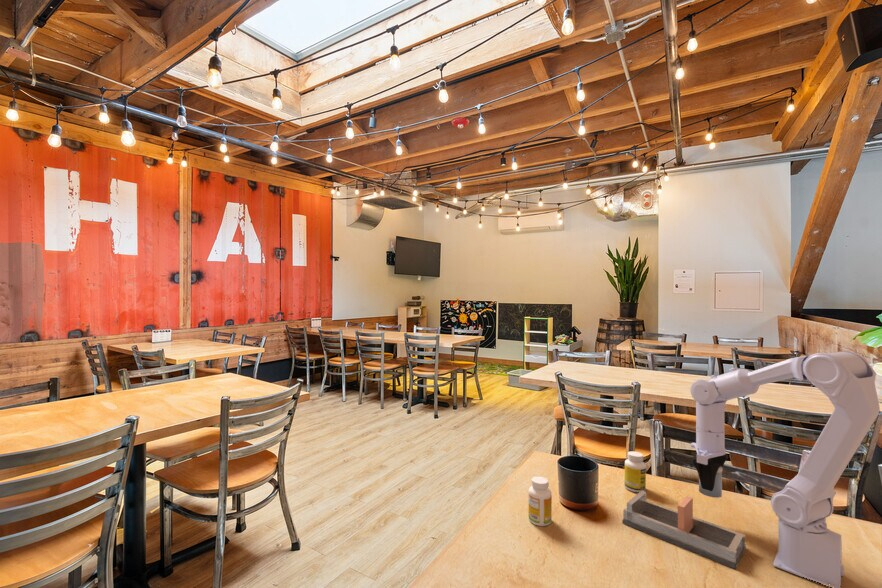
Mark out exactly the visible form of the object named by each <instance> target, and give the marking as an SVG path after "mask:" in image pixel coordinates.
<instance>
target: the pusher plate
mask: <svg viewBox="0 0 882 588" xmlns="http://www.w3.org/2000/svg"><path fill="white" fill-rule="evenodd" d="M693 500H694V498H693V497H691V496H689V495H686V496H685V497H684V498H683V499H682V500H681V502H680V503H679V504H677V511H678V529H681V530H683V531H686V532H688V533H689V532H690V530H691V529H692V528H693V517H694V516H693V515H694V513H693V512H694V506H693V502H694V501H693Z"/></svg>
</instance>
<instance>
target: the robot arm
mask: <svg viewBox="0 0 882 588" xmlns="http://www.w3.org/2000/svg"><path fill="white" fill-rule="evenodd" d="M876 377H877V372H876V370H875V369H874V368H873V367H872V366H871V365H870V363H869V361H867V359H866V358H864V357H863V356H862V355H861V354H858V353H856V352H854V351H849V350H841V351H836V352H817V353H813V354H811V355H802V356H797V357H791V358H787V359H785V360H782V361H779V362H776V363H774V364H770V365H767V366H764V367H761V368H759V369H756V370H753V371H751V370H748V369H746V368H738V367H731V368H729V369H728V372H726V373H722V374H719V375H718V374H712V375H710V378H708V379H702V378H701V379H698V380H696V381H694V382H693V383H692V384H691V385H690V394H691V397H692V398H693V400H694V401H695V417H696V418H695V442H691V443H690V448H693V449H695V451H696V455H693V456H691V462H692V464H693V465H694V467H695V470H696V471H697V474H698V480H699V479H700V483H701V486H702V489H706V490H709V491H713V488H714V484H715V478H716V474H717V471H718V469H719V467H720V466H721V467H722V469H723V468H724V467H725V466H724V465H725V463H726V461H727V460H728V458H729V455H728V454H727V453H726V452H727V450H726V448H725V447H726V446H725V443H726V442H725V441H726V438H725V437H726V436H725V435H726V434H725V432H726V431H725V430H726V429H725V423H726V422H725V418H726V417H725V416H726V415H725V409H726V403H727V402H728V401H730V400H734V399H739V398H742V397H746V396H750V395H755V394H756V393H757V392H758V390H759V389H760V386H762V385H767V384H772V383H775V382H779V381H784V380H788V379H792V378H794V379H795V378H796V379H798V380H800V381H807V380H809V382H810V383H811V384H812V385H813V386H815V387H816V388H817V389H818V390H819V391H820V392H822V393H823V394H824V395H825V396H826V397H827V398H828V400H829V401H830V402H831V403H832V406H833V407H834V410H833V411H832V413H831V415H830V417H829V419H828V421H827V422H826V424H825V426H824V427H823V428H822V431H821V433H820V435H819V436H818V437H817V440H816V441H815V443H814V445H813V447H812V448H811V451H810V452H809V453H808V456H807V457H806V459H805V461H804V462H803V464H802V466H801V468H800V469H799V472H798V473H797V474H796V475H795V476H794V477H793V478H792V479H790V481H788V482H787V483H786V484H785V486H784V488H783V489H782V490H779V491H778V492H775V493H774V494H772V496H771V499H770V505H771V508H772V511H773V512H774V514H775V515H776V517H778V523H777V524H778V550H777V552H776V555H775V558H774V560H773V566H774V567H776V568H778V569H780V570H783V571H785V572H787V573H791V574H793V575H796V576H799V577H801V578H803V577H804V579H806V578H807V580H809V579H810V580H809V581H811V580H813V581H812V582H814V581H816V582H815V583H817V582H819V583H821V584H820V585H822V584H825V585H828V586H830V587H834V588H841V587H840V586H842V577H844V576H845V566H844V565H843V563H842V562H843V559H842V558H843V552H842V548H843V547H842V546H843V545H842V544H843V542H842V534H840V533H838V532H835V531H833V530H831V529H829V528H828V526H827V520H826V519H827V518H828V517H830V516H832V513H833V512H834V503H833V502H834V497H835V496H836V494H837V492H836V490H835V486H836V484H837V483H838V481H839V479H840V477H841V476H842V474H843V473H844V471H845V470H846V468H847V466H848V465H849V463H850V462H851V460H852V458H853V456H854V455H855V453H856V452H857V450H858V448H859V447H860V445H861V444H862V442H863V441H864V438H865V437H866V435H867V434H868V432H869V430H870V429H871V427H872V426H873V423H874V422H875V421H876V419H877V417H878V415H879V413H880V411H881V410H880V403H879V397H878V393H877V387H876ZM841 576H842V577H841ZM819 583H818V584H819ZM829 584H830V585H829ZM830 587H829V588H830Z"/></svg>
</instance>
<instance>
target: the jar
mask: <svg viewBox="0 0 882 588" xmlns="http://www.w3.org/2000/svg"><path fill="white" fill-rule="evenodd" d="M698 491H699V493H701V494H702V495H704V496H707V497H711V498H717V499H718V498H721V497H722V496H723V468H722V467H721V466H720V467H719V469H718V471H717V474H716V478H715V484H714V488H713V491H709V490H706V489H702V486H701V483H700V479H699V478H698Z"/></svg>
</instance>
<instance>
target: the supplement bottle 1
mask: <svg viewBox="0 0 882 588" xmlns="http://www.w3.org/2000/svg"><path fill="white" fill-rule="evenodd" d="M549 484H550V483H549V479H548V478H546V477H545V476H533V477H532V478H531V486H530V487H528V520H529V522H530V523H531V524H533V525H535V526H538V527H546V526H550V524H551V523H552V517H553V516H552V515H553V514H552V510H553V509H552V491H551V489H550V488H549Z"/></svg>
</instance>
